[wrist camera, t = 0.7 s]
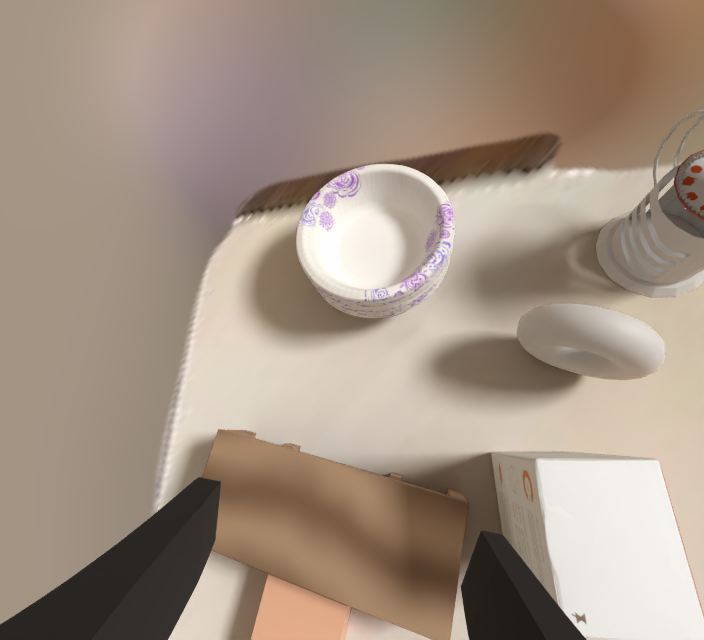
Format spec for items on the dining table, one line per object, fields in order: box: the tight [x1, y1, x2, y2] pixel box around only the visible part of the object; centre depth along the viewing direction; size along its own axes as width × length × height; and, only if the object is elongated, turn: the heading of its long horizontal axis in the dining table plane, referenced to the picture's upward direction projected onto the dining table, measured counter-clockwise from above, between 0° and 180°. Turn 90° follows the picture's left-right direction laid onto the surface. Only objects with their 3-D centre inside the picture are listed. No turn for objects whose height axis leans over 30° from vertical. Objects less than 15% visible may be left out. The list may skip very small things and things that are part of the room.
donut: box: [517, 303, 665, 380], centre depth 28 cm, size 10×4×10 cm, turn 66°
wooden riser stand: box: [202, 429, 468, 640], centre depth 30 cm, size 9×22×5 cm, turn 75°
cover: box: [251, 574, 351, 640], centre depth 28 cm, size 8×7×3 cm
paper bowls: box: [296, 164, 455, 318], centre depth 36 cm, size 15×15×8 cm
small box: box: [491, 451, 704, 640], centre depth 23 cm, size 8×6×13 cm
